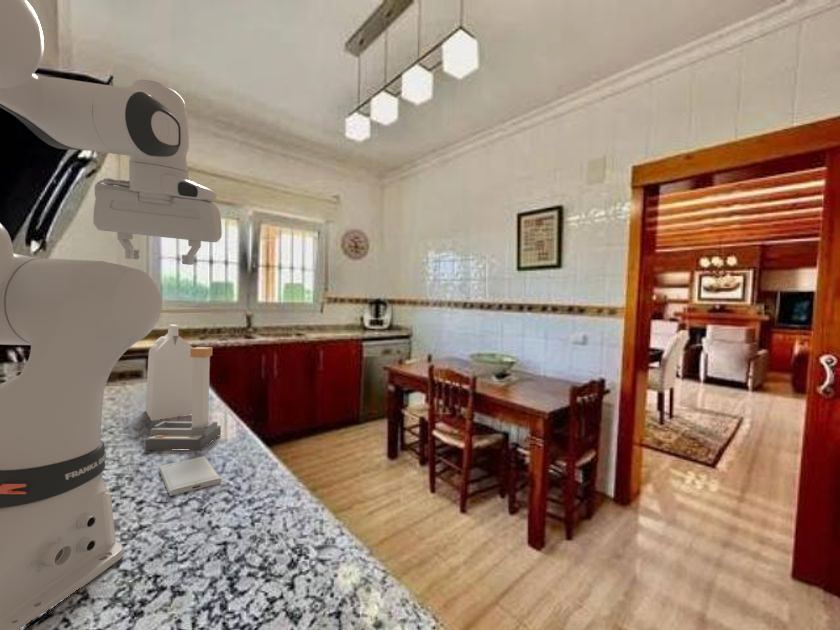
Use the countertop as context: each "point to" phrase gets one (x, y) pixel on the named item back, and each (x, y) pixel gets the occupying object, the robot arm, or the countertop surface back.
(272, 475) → the countertop surface
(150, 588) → the countertop surface
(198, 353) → the grey and orange bar
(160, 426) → the switch base
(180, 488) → the hard drive
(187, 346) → the milk
